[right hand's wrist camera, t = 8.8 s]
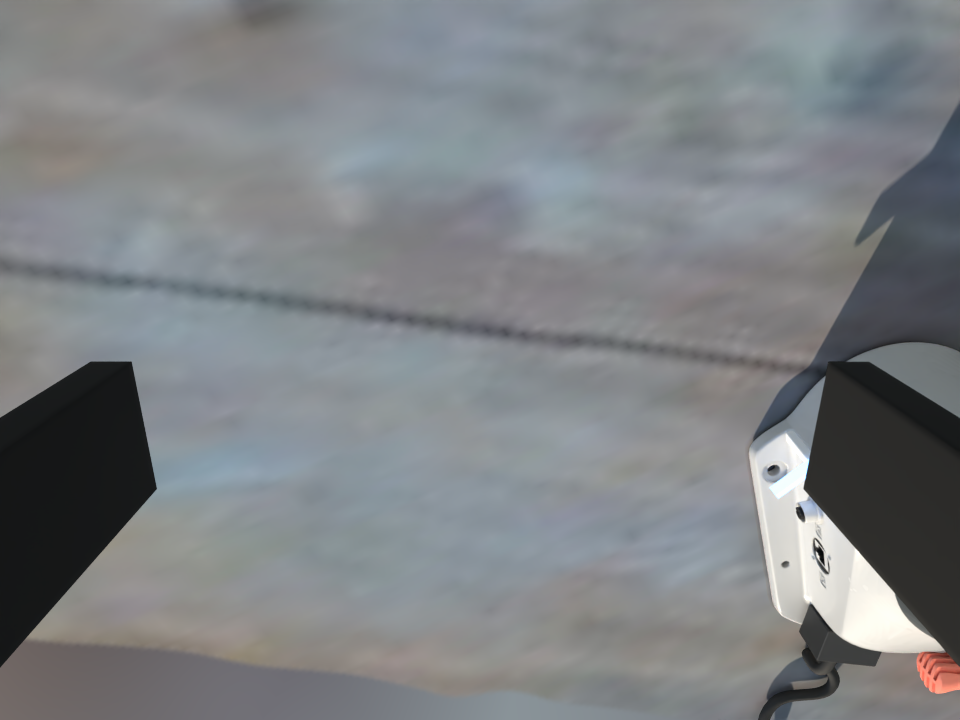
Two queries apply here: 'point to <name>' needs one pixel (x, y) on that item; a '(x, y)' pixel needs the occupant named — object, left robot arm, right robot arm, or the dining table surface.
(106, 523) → the right robot arm
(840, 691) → the dining table surface
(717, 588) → the dining table surface
